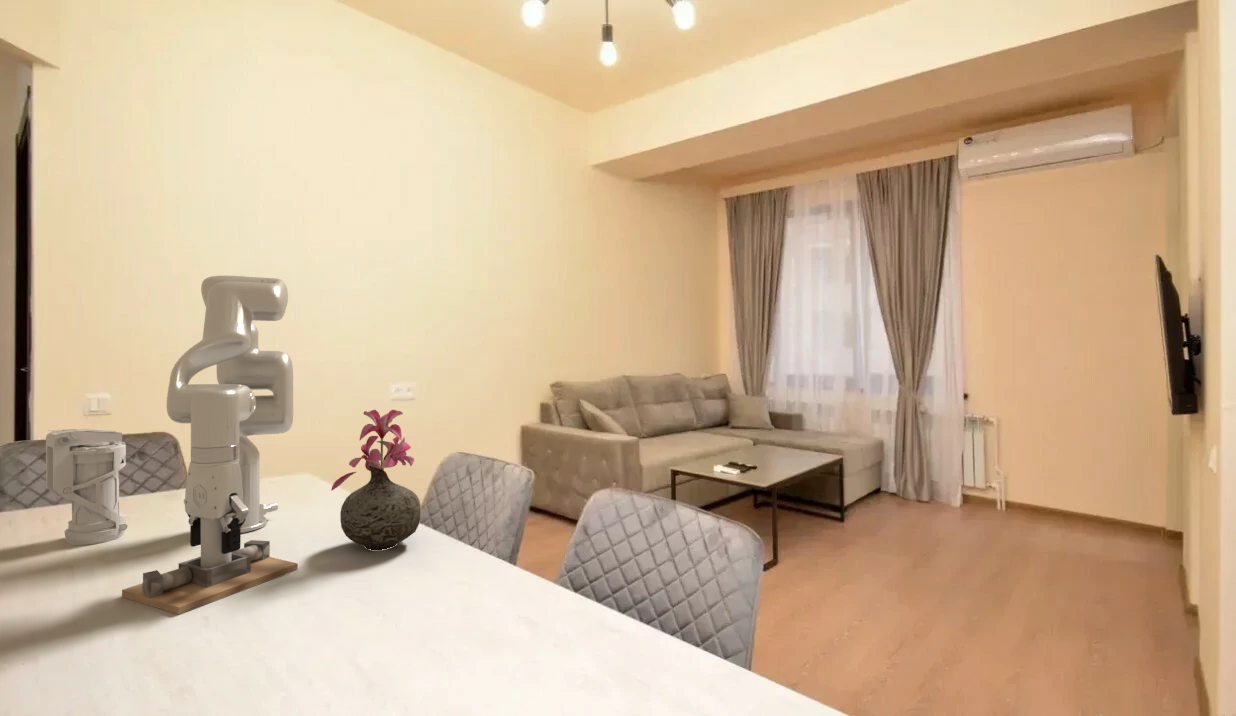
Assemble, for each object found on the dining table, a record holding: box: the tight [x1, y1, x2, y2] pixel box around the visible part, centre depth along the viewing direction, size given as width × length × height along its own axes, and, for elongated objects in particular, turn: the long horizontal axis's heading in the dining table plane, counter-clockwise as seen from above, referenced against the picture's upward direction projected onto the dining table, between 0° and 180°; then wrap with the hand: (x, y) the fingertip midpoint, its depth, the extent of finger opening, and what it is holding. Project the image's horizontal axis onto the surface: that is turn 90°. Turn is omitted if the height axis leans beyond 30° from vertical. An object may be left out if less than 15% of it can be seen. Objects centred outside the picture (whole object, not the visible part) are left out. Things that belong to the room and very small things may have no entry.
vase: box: [330, 409, 421, 550], centre depth 133 cm, size 17×17×30 cm
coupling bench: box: [121, 539, 299, 615], centre depth 112 cm, size 22×16×4 cm
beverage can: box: [200, 511, 232, 569], centre depth 112 cm, size 5×5×12 cm
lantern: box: [45, 428, 128, 546], centre depth 134 cm, size 13×10×25 cm
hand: (215, 547), depth 112 cm, fingers open, 8 cm apart
